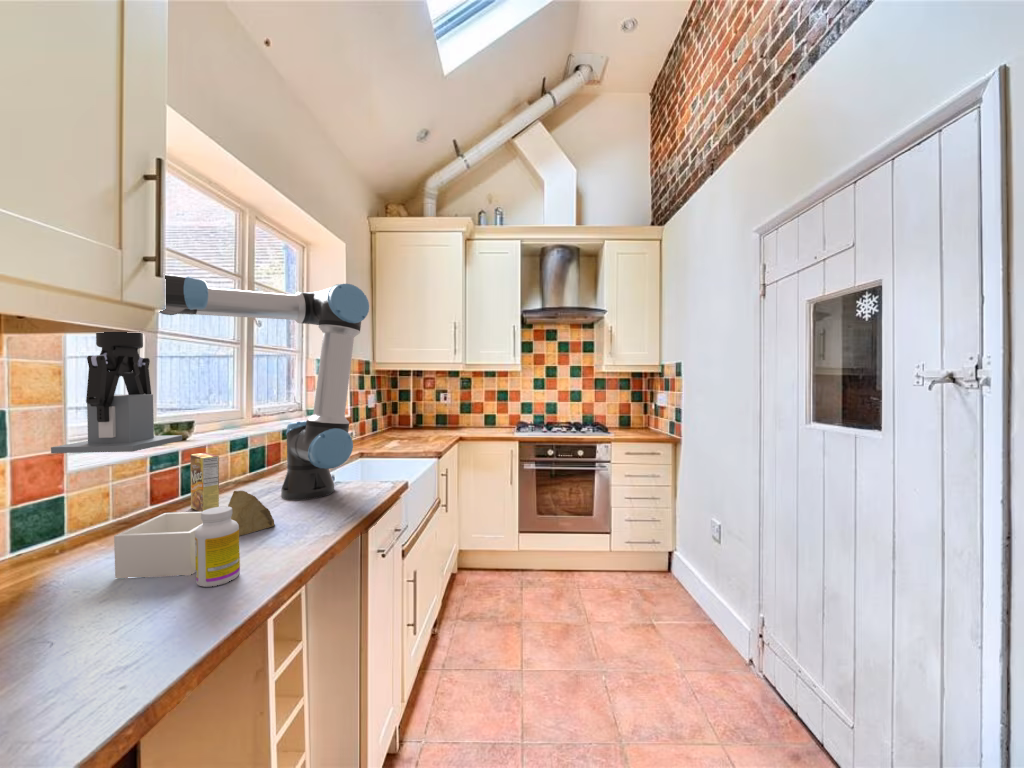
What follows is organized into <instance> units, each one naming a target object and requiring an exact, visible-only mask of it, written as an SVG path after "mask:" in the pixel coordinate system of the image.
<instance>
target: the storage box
mask: <svg viewBox="0 0 1024 768" xmlns="http://www.w3.org/2000/svg"><path fill="white" fill-rule="evenodd" d="M202 524H203V521H202V519H201V512H199V511H187V512H186V511H183V512H182V511H180V512H179V511H178V512H164V513H161V514H159V515H157V516H155V517H152V518H150V519H147V520H146V521H144V522H142V523H139V524H137V525H136V526H133V527H131V528H129V529H125V530H123V531H122V532H120V533H117V534H116V535H113V538H114V539H113V540H114V541H113V542H114V545H113V546H114V547H113V548H114V549H113V550H114V578H125V579H129V578H128V577H145V578H160V577H161V578H162V577H178V576H177V575H185V576H192V575H193V574H195V573H196V572H195V571H196V559H195V531H196V529H197V528H198V527H199V526H201V525H202ZM194 572H195V573H194ZM191 574H192V575H191Z"/></svg>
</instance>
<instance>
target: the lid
mask: <svg viewBox="0 0 1024 768" xmlns="http://www.w3.org/2000/svg"><path fill="white" fill-rule="evenodd" d="M94 398H96V397H94ZM104 400H105V399H104ZM111 406H115V422H116V437H113V438H99V424H98V421H97V407H92V406H91V405H90V404H87V403H86V409H87V410H86V417H87V418H86V419H87V440H85V441H80V442H73V443H68V444H62V445H57V446H51V447H50V453H51V454H71V453H72V454H74V453H75V454H79V453H80V454H81V453H82V454H83V453H84V454H85V453H87V454H88V453H125V452H126V453H127V452H129V453H130V452H132V453H133V452H137V451H141V450H146V449H151V448H156V447H158V446H163V445H167V444H173V443H177V442H181V441H183V435H182V434H181V435H180V434H178V435H175V434H174V435H155V430H154V428H155V425H154V419H155V418H154V394H152V393H151V394H135V395H129V394H114V397H113V401H112V404H111Z"/></svg>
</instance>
